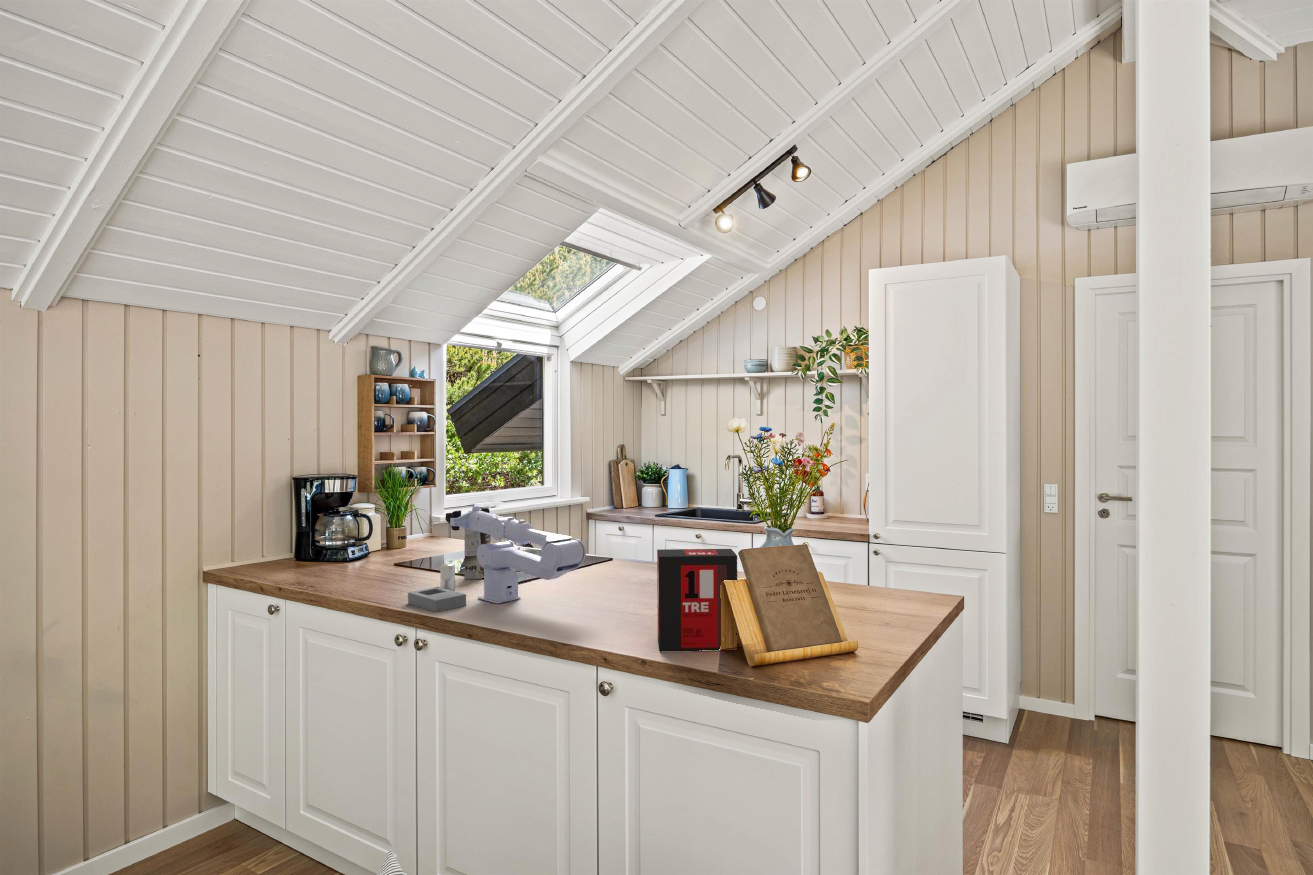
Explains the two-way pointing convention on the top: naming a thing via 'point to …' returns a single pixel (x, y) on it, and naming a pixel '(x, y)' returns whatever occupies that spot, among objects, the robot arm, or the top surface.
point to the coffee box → (474, 553)
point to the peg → (447, 576)
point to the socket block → (436, 599)
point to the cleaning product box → (691, 597)
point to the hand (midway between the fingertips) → (458, 515)
